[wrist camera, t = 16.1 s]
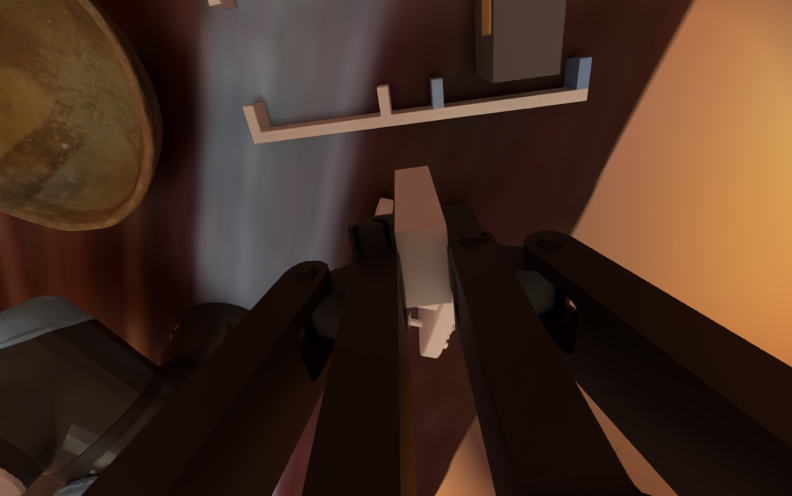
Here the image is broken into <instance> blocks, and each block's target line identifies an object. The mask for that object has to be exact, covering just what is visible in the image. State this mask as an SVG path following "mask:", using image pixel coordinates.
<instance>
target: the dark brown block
mask: <svg viewBox="0 0 792 496" xmlns="http://www.w3.org/2000/svg"><path fill="white" fill-rule="evenodd" d="M565 10H566V0H475V66H476V77H477V78H480V79H483V80H486V81H489V82H492V83H497V82H504V81H512V80H519V79H526V78H533V77H541V76H548V75H555V74H560V64H561V53H562V42H563V31H564V21H565Z"/></svg>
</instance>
